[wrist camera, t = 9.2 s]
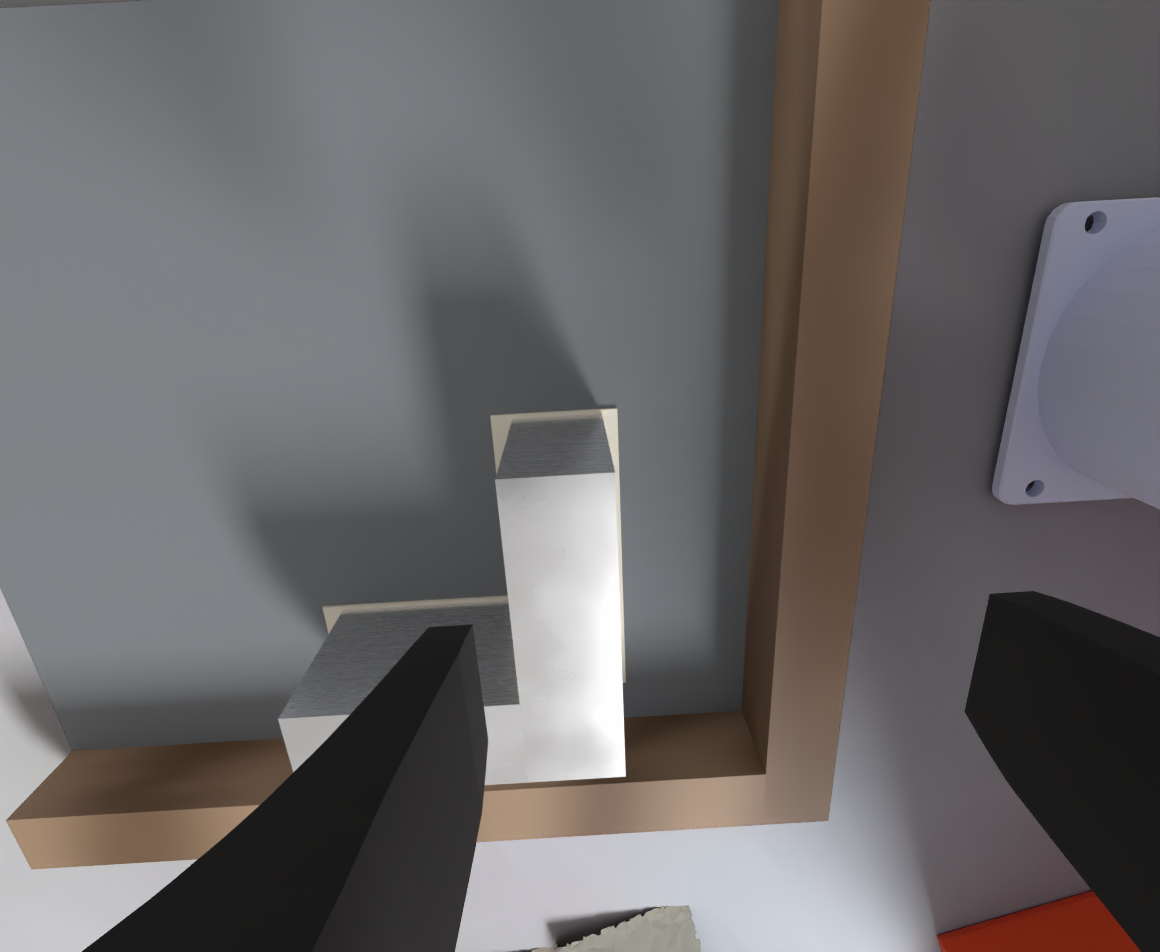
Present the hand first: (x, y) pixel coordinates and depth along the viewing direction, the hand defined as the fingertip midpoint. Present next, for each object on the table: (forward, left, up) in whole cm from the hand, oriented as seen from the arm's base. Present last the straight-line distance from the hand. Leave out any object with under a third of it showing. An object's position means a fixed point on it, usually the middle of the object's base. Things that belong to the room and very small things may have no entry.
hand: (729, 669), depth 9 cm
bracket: (+5, +3, -9) cm, 11 cm away
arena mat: (+7, 0, -9) cm, 12 cm away
